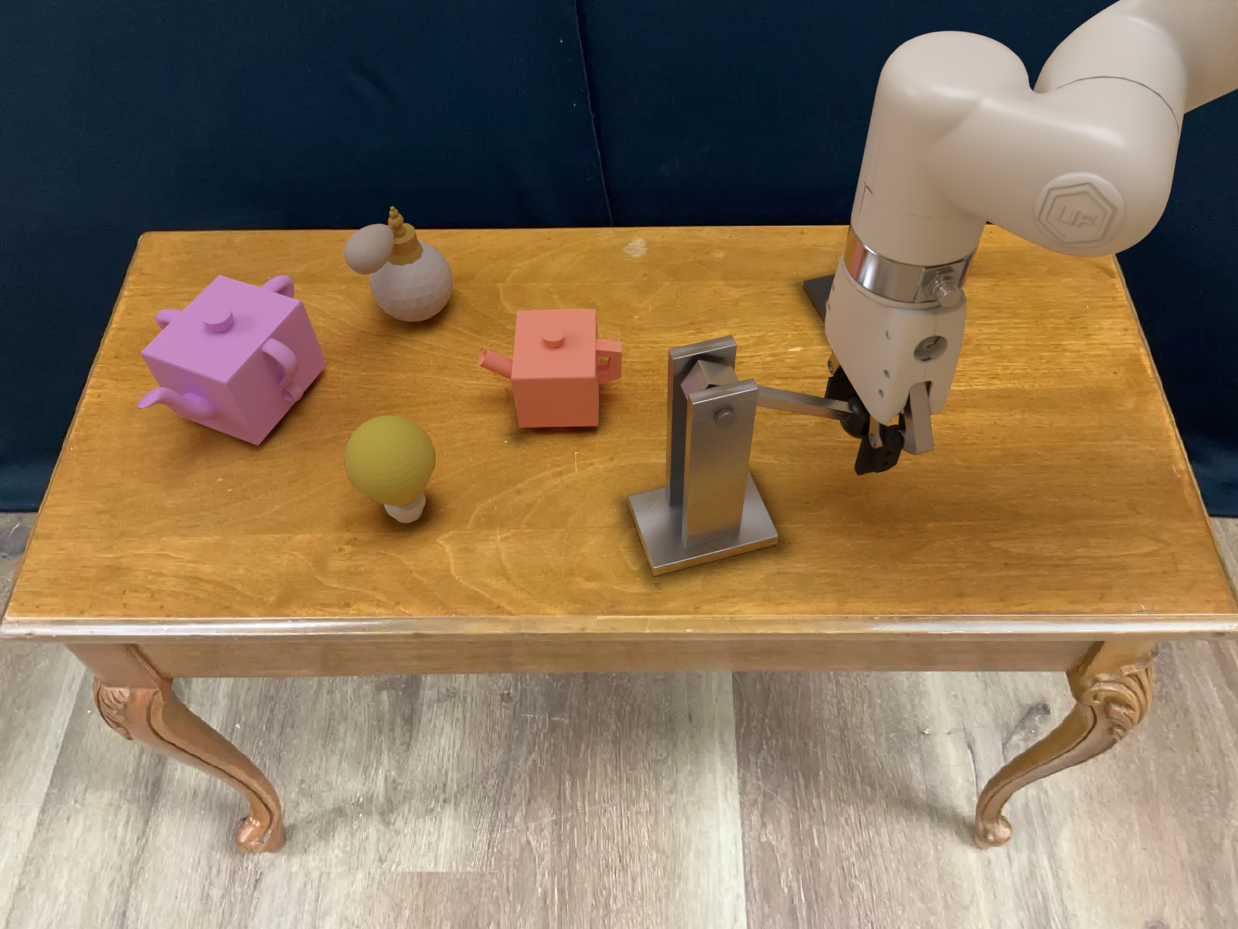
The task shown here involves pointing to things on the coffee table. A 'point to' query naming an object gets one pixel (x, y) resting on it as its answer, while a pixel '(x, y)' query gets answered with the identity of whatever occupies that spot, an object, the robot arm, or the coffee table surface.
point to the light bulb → (391, 464)
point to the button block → (819, 292)
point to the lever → (785, 398)
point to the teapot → (234, 357)
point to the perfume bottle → (400, 269)
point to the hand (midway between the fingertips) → (858, 437)
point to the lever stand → (704, 471)
